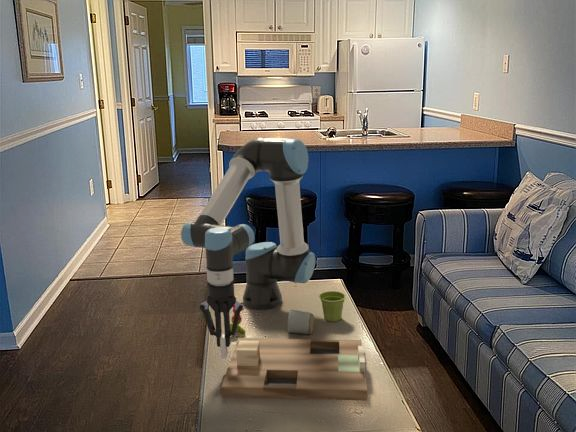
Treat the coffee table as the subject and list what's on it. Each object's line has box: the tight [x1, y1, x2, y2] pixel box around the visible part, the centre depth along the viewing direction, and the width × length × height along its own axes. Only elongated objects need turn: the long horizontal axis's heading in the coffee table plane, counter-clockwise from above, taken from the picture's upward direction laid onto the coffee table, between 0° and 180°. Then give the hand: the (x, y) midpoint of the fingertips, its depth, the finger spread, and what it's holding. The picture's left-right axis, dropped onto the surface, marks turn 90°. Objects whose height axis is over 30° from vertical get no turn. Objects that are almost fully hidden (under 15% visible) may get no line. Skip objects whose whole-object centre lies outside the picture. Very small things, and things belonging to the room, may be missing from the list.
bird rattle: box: [230, 305, 246, 335], centre depth 190 cm, size 6×11×9 cm
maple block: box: [236, 340, 260, 366], centre depth 164 cm, size 6×6×5 cm
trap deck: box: [220, 337, 368, 401], centre depth 164 cm, size 29×40×6 cm
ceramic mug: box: [286, 309, 315, 335], centre depth 190 cm, size 11×8×8 cm
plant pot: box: [318, 290, 347, 322], centre depth 199 cm, size 9×9×9 cm
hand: (224, 355), depth 165 cm, fingers closed
